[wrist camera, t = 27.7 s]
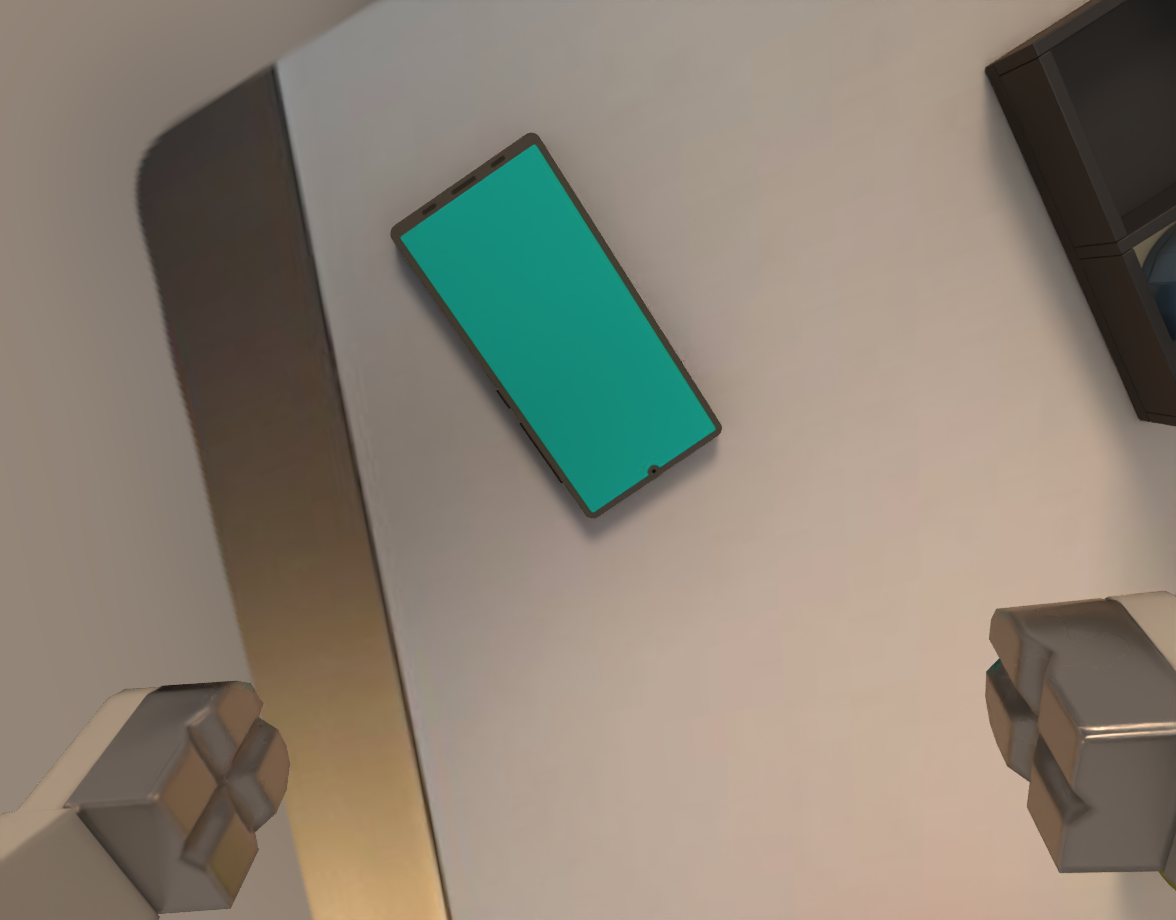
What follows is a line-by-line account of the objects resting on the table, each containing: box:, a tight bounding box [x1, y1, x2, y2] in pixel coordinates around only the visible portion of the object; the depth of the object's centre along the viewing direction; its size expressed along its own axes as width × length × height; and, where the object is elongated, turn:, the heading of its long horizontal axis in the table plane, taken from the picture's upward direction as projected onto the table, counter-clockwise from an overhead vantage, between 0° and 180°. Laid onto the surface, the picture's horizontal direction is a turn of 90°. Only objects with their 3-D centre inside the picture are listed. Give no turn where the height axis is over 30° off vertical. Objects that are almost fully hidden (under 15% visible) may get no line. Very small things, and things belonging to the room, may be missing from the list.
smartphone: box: [391, 133, 722, 518], centre depth 33 cm, size 7×1×15 cm
